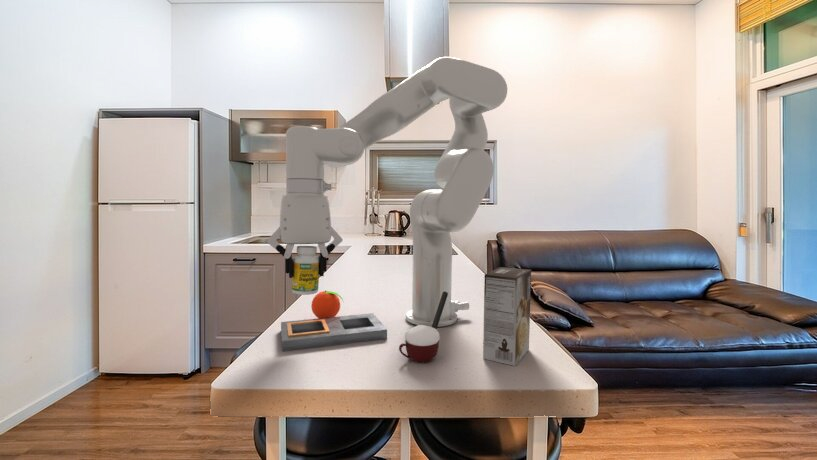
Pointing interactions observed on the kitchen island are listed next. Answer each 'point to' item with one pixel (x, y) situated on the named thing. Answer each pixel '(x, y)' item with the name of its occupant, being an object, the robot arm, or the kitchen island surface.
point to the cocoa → (424, 338)
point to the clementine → (326, 304)
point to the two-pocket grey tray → (331, 331)
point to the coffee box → (506, 315)
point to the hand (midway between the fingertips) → (306, 275)
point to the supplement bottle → (305, 271)
